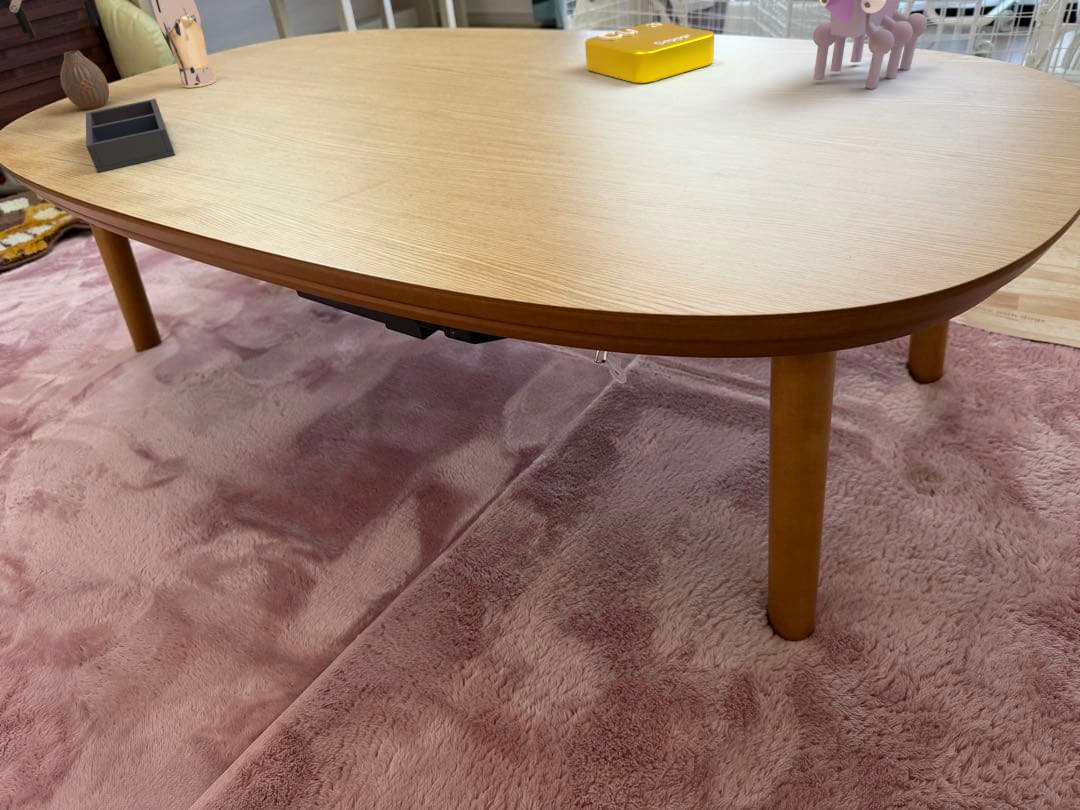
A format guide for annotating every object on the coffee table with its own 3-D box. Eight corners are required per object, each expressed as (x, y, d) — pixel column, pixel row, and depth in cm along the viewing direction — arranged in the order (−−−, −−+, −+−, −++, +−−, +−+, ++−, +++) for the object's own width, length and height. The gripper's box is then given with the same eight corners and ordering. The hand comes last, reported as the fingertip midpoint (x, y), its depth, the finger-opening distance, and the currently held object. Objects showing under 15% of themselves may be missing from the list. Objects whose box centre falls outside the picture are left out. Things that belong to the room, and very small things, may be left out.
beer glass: (178, 83, 146) (147, -8, 138) (217, 75, 148) (189, -15, 139) (181, 91, 141) (148, -3, 132) (221, 83, 143) (192, -11, 134)
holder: (97, 172, 108) (86, 146, 106) (95, 136, 123) (85, 112, 120) (175, 155, 111) (165, 128, 109) (164, 122, 126) (155, 98, 123)
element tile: (641, 85, 116) (641, 50, 113) (581, 69, 126) (579, 36, 124) (719, 62, 122) (720, 28, 119) (655, 49, 132) (655, 17, 129)
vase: (118, 104, 138) (97, 50, 132) (75, 115, 135) (52, 59, 130) (110, 97, 142) (89, 45, 137) (69, 107, 140) (46, 53, 134)
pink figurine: (852, 109, 99) (867, -14, 90) (774, 98, 105) (783, -17, 97) (924, 68, 109) (944, -45, 101) (850, 60, 116) (863, -47, 108)
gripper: (74, -100, 127) (119, 17, 137) (-48, -82, 122) (9, 38, 132) (73, -98, 121) (121, 24, 131) (-54, -80, 116) (6, 46, 126)
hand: (65, 31), depth 132 cm, fingers open, 9 cm apart
